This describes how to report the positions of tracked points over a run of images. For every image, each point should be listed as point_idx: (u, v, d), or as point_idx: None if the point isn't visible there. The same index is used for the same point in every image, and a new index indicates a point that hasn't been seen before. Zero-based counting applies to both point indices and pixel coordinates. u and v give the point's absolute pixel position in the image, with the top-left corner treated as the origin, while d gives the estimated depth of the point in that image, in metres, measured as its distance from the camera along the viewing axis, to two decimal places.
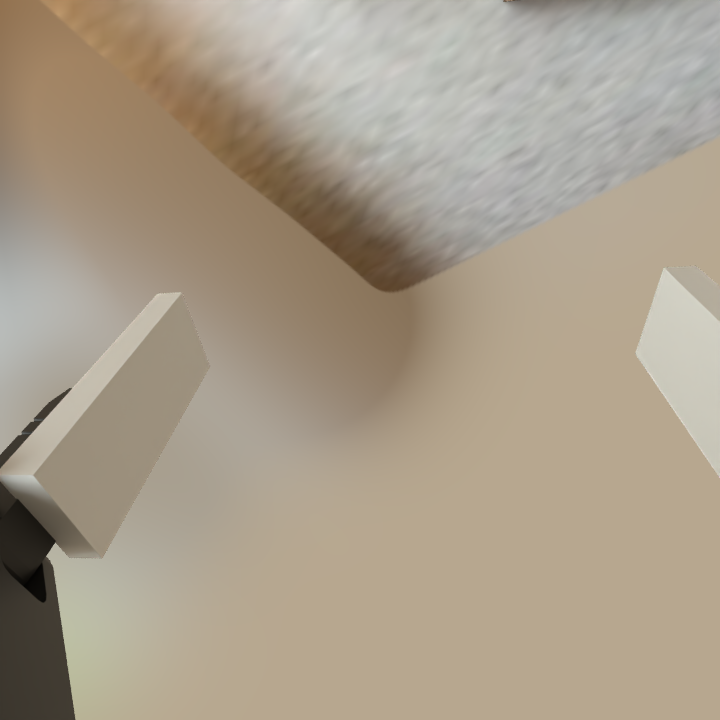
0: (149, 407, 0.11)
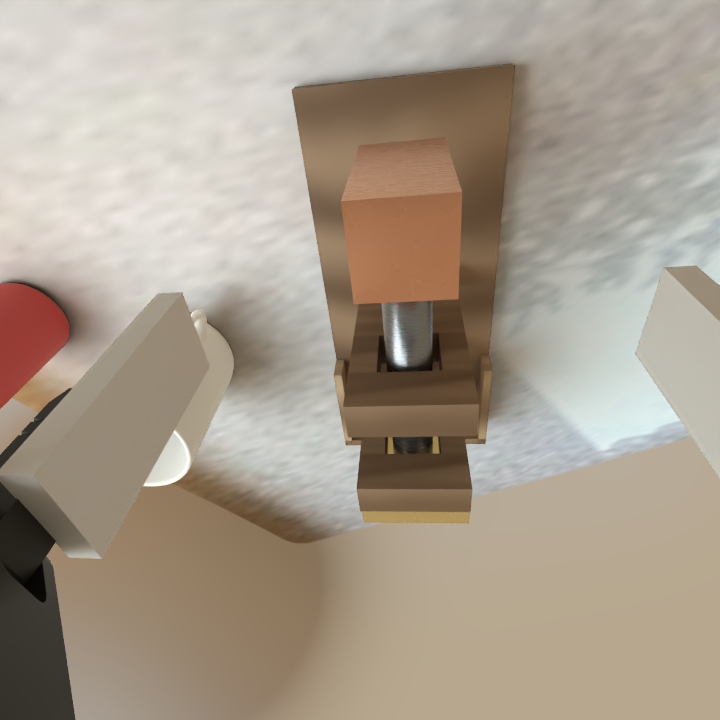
0: (149, 407, 0.11)
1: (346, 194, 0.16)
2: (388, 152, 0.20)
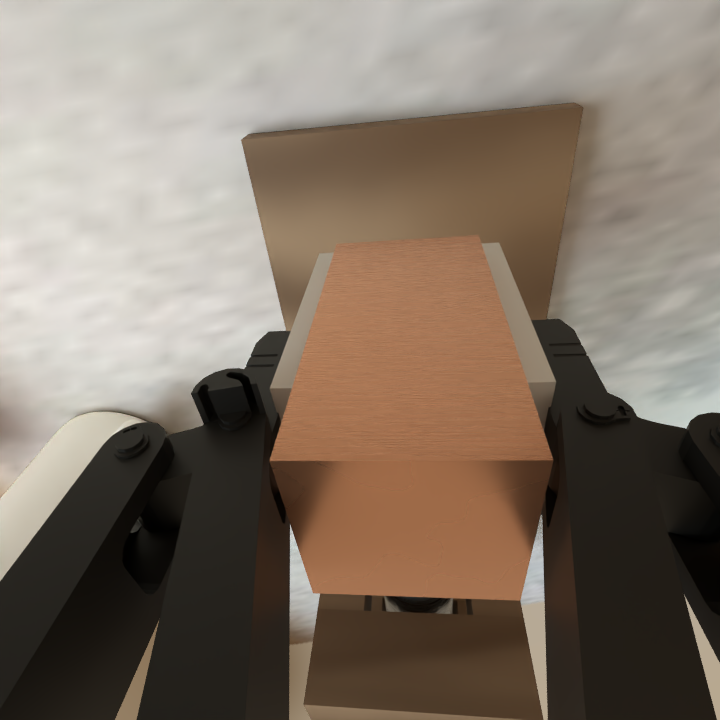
0: None
1: (287, 428, 0.07)
2: (383, 270, 0.11)
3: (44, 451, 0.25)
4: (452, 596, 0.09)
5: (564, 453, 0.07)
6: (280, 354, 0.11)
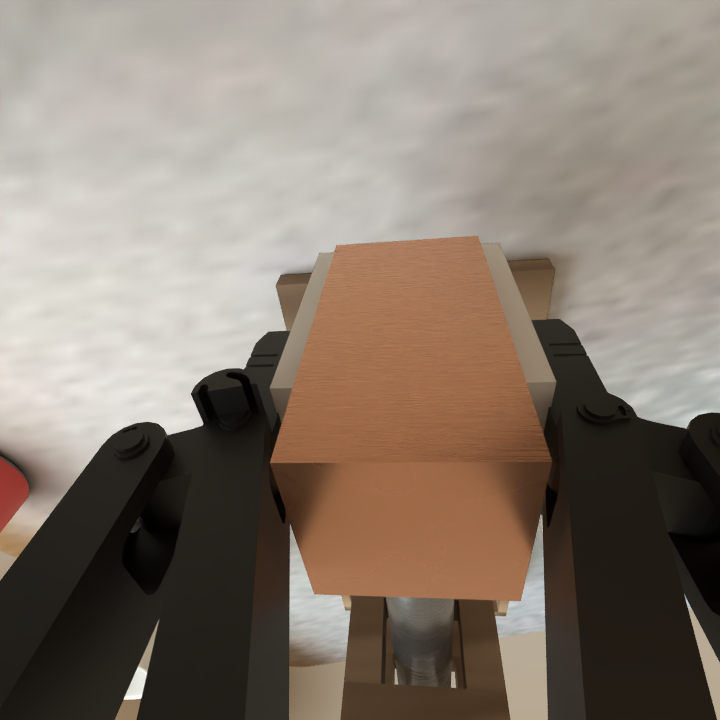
0: None
1: (287, 430, 0.07)
2: (383, 272, 0.11)
3: None
4: (452, 597, 0.09)
5: (564, 453, 0.07)
6: (280, 354, 0.11)
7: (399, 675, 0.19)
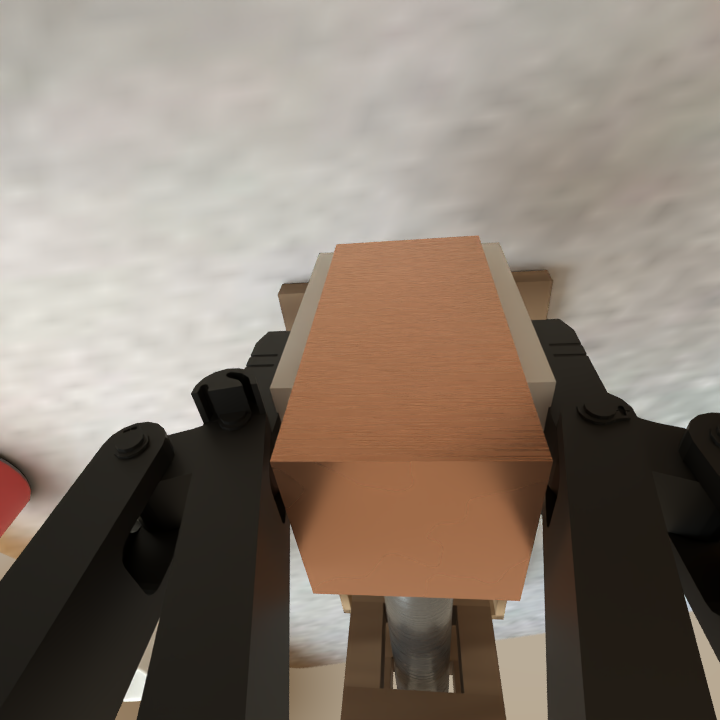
0: None
1: (287, 429, 0.07)
2: (384, 271, 0.11)
3: None
4: (452, 596, 0.09)
5: (564, 453, 0.07)
6: (280, 354, 0.11)
7: (397, 675, 0.19)
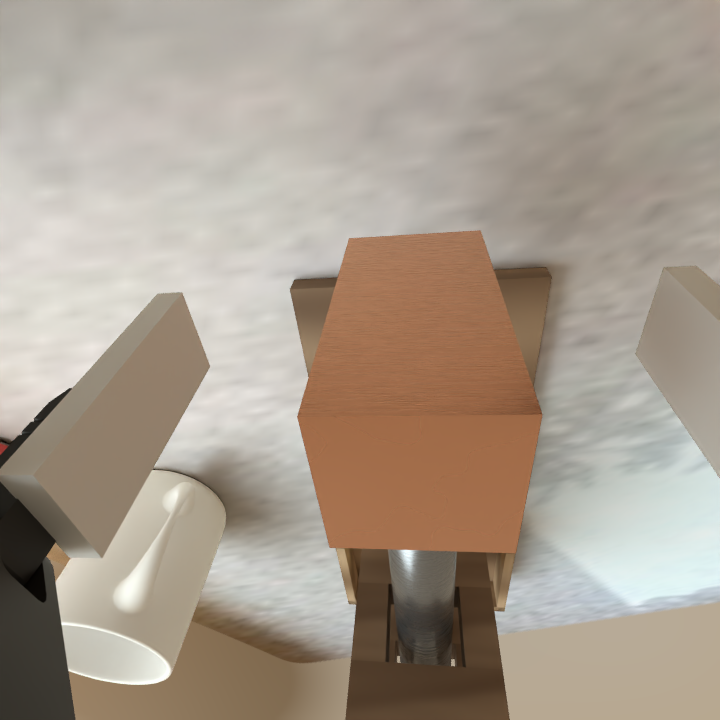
0: (149, 407, 0.11)
1: (311, 391, 0.08)
2: (393, 261, 0.12)
3: None
4: (455, 549, 0.10)
5: None
6: None
7: (402, 652, 0.20)
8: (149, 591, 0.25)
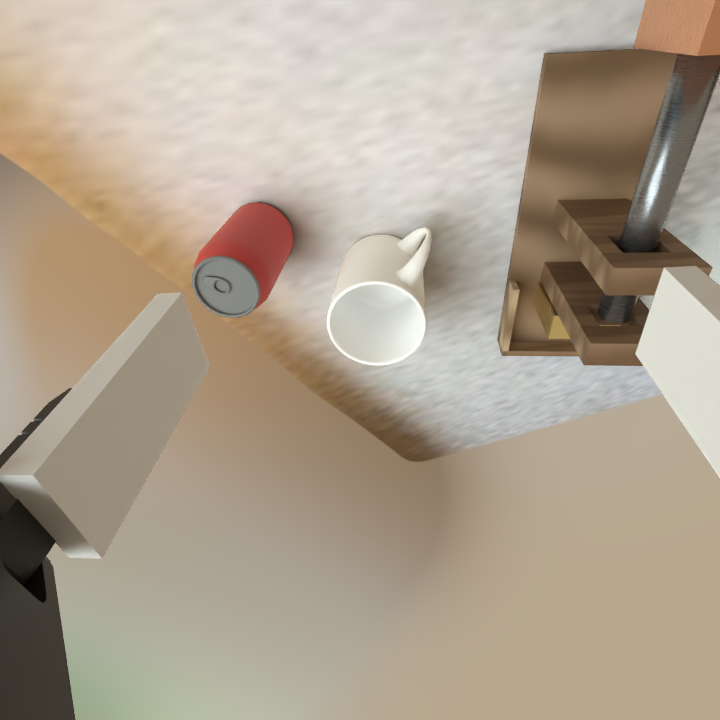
0: (149, 407, 0.11)
1: None
2: None
3: (361, 248, 0.42)
4: None
5: None
6: None
7: None
8: (420, 274, 0.38)
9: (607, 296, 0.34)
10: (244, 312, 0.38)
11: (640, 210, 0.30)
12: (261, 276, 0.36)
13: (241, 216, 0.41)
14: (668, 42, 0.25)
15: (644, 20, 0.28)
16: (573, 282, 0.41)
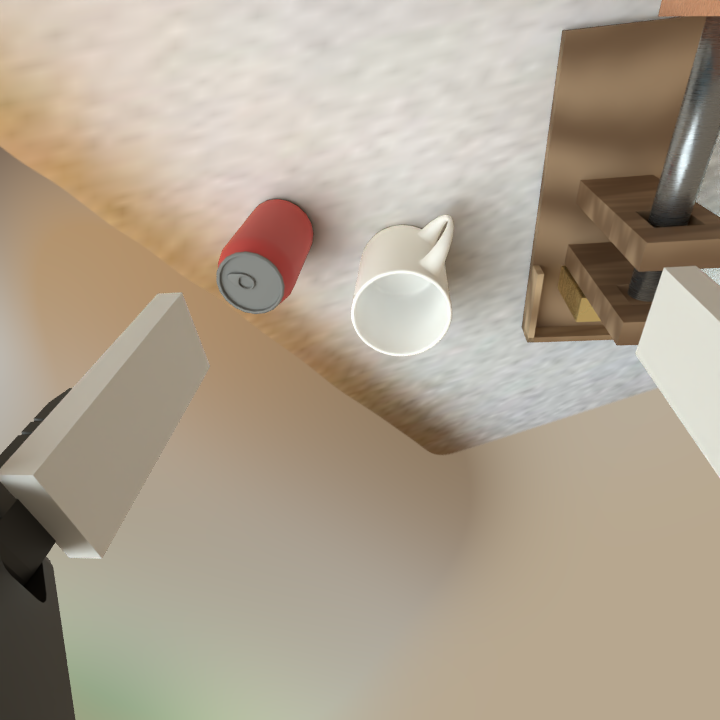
0: (149, 407, 0.11)
1: None
2: None
3: (382, 239, 0.42)
4: None
5: None
6: None
7: None
8: (444, 261, 0.37)
9: (638, 274, 0.34)
10: (269, 307, 0.38)
11: (671, 182, 0.29)
12: (285, 270, 0.36)
13: (261, 212, 0.41)
14: (696, 6, 0.25)
15: None
16: (600, 263, 0.40)
